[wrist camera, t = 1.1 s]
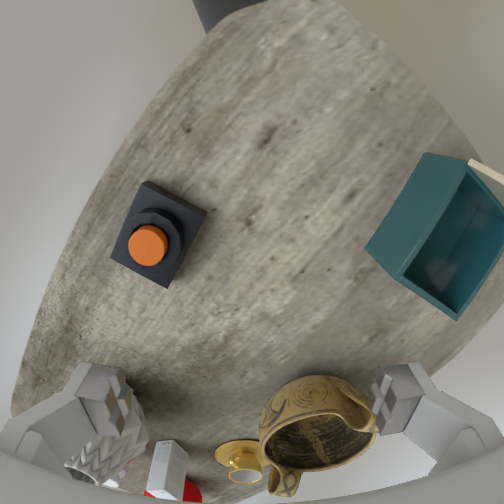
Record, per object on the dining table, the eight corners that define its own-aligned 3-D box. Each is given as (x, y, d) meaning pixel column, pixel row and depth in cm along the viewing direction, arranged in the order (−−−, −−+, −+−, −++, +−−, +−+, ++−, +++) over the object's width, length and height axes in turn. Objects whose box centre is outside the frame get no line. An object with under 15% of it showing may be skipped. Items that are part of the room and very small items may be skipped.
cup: (286, 457, 53) (288, 479, 48) (236, 472, 55) (236, 492, 50) (255, 431, 50) (256, 455, 45) (202, 448, 52) (200, 470, 47)
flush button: (141, 218, 32) (136, 222, 30) (174, 235, 33) (170, 241, 31) (128, 249, 33) (123, 254, 32) (159, 265, 34) (155, 272, 32)
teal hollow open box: (425, 289, 40) (456, 321, 32) (364, 248, 38) (393, 278, 29) (478, 206, 36) (518, 224, 28) (424, 152, 33) (466, 160, 25)
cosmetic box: (155, 441, 51) (144, 490, 40) (173, 438, 50) (164, 489, 39) (171, 456, 53) (163, 503, 42) (189, 454, 53) (183, 503, 41)
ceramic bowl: (307, 324, 41) (331, 406, 27) (391, 361, 45) (427, 430, 31) (230, 417, 48) (227, 491, 34) (310, 440, 51) (322, 505, 37)
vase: (168, 378, 45) (142, 478, 27) (148, 430, 50) (128, 512, 32) (73, 338, 42) (19, 422, 25) (70, 398, 47) (33, 471, 30)
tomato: (204, 493, 60) (202, 530, 49) (152, 486, 59) (145, 522, 48) (201, 472, 55) (197, 515, 45) (143, 465, 55) (133, 505, 44)
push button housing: (147, 180, 34) (135, 185, 30) (207, 212, 36) (202, 221, 32) (116, 251, 37) (104, 263, 33) (171, 281, 39) (164, 296, 35)
